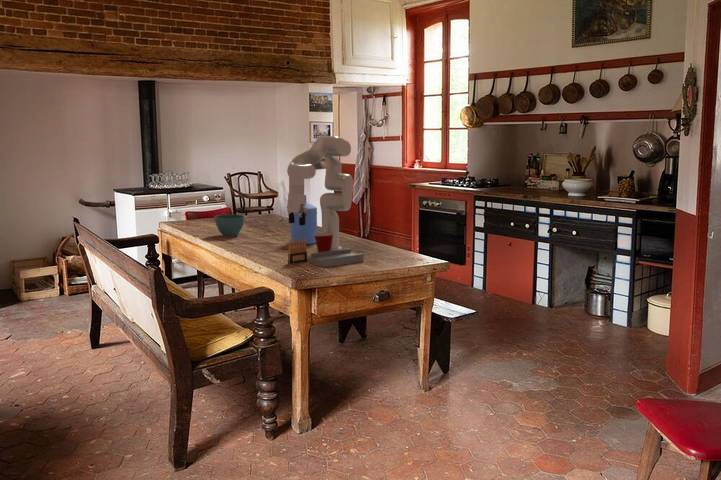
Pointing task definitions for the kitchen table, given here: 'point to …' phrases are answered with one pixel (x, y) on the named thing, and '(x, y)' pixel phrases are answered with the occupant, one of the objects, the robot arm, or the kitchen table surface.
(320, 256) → the grey tray
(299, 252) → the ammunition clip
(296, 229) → the water jug
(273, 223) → the kitchen table surface
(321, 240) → the plastic cup
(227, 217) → the plant pot
